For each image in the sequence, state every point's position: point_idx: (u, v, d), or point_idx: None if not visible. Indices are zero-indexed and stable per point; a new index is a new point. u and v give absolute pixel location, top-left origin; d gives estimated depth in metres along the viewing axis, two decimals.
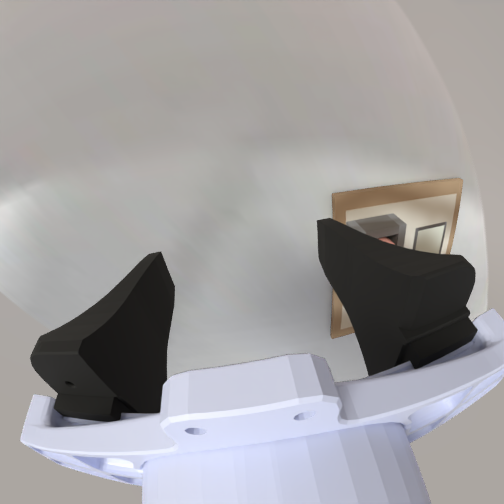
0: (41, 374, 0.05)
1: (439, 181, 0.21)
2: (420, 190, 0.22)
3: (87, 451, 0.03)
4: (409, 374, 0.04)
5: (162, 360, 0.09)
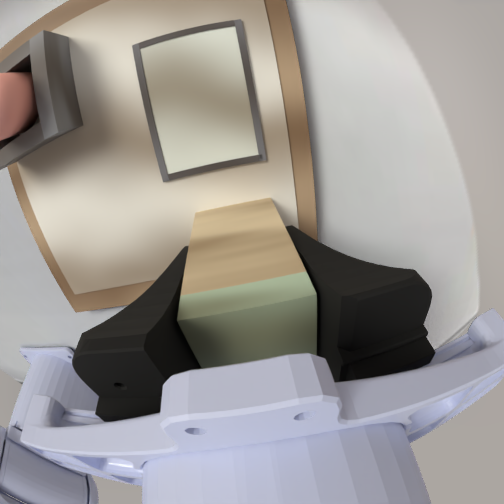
0: (83, 376, 0.05)
1: None
2: None
3: (87, 451, 0.03)
4: (409, 374, 0.04)
5: None
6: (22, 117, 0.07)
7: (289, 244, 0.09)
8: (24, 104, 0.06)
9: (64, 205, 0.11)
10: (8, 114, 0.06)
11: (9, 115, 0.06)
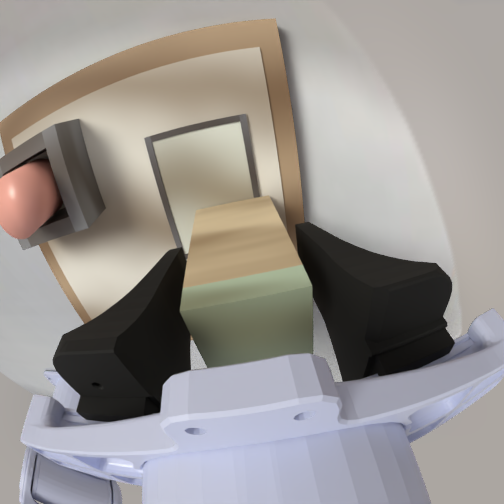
0: (64, 375, 0.05)
1: None
2: (132, 59, 0.09)
3: (87, 451, 0.03)
4: (408, 374, 0.04)
5: (186, 357, 0.09)
6: (50, 211, 0.09)
7: (286, 239, 0.09)
8: (51, 201, 0.09)
9: (92, 270, 0.14)
10: (39, 216, 0.08)
11: (40, 216, 0.09)
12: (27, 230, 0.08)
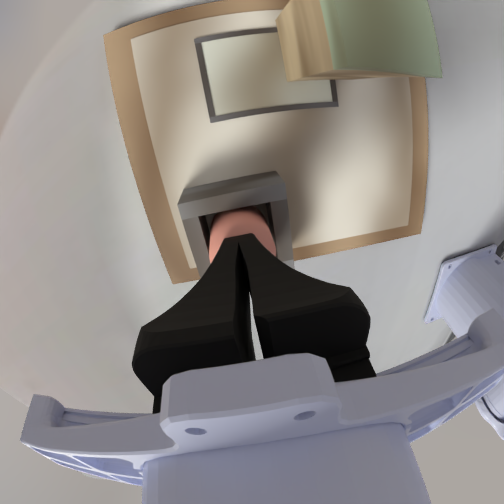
0: (142, 375, 0.05)
1: (115, 94, 0.11)
2: (135, 140, 0.12)
3: (87, 451, 0.03)
4: (409, 374, 0.04)
5: (252, 347, 0.09)
6: (259, 218, 0.13)
7: None
8: (249, 214, 0.12)
9: (337, 205, 0.15)
10: (257, 225, 0.12)
11: None
12: (268, 244, 0.12)
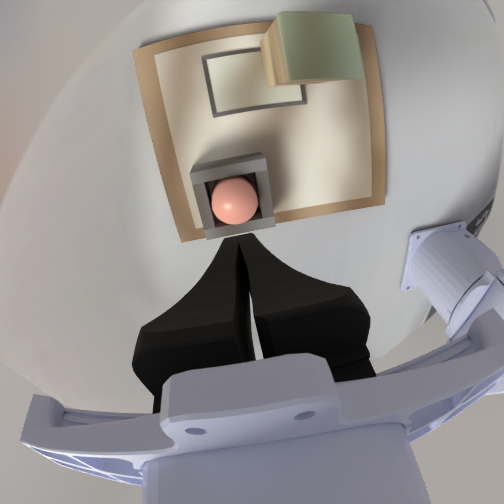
0: (143, 376, 0.05)
1: (142, 95, 0.16)
2: (157, 129, 0.17)
3: (87, 451, 0.03)
4: (409, 374, 0.04)
5: (253, 347, 0.09)
6: (246, 180, 0.18)
7: (271, 27, 0.11)
8: (239, 177, 0.18)
9: (309, 178, 0.20)
10: (244, 183, 0.17)
11: None
12: (252, 196, 0.17)
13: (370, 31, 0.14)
